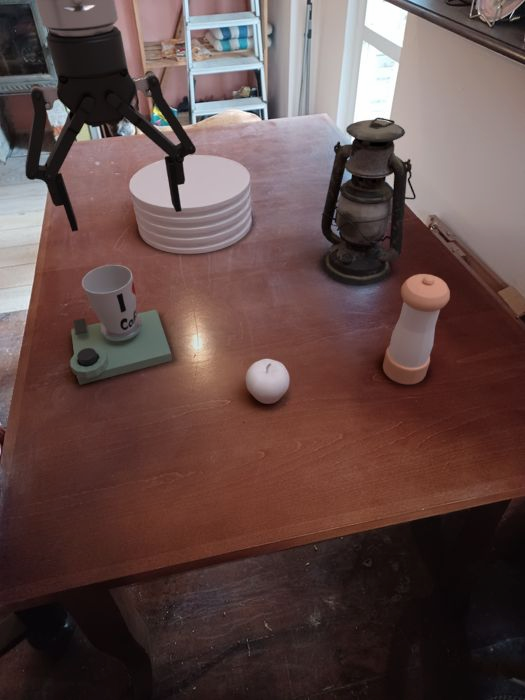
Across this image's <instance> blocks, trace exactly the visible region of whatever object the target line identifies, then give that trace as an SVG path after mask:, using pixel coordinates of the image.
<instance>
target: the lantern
mask: <svg viewBox="0 0 525 700" xmlns="http://www.w3.org/2000/svg"><path fill="white" fill-rule="evenodd" d="M345 131H346V133H347V134H348V136H350V137H352V138H354V139H353V140H352V142H351V143H349V144H343V145H341V141H337V142H336V144H335V145H334V146H333V152H334V154H335V155H334V159H333V164H332V169H331V174H330V179H329V183H328V188H327V193H326V197H325V203H324V207H323V211H322V213H321V222H320V223H321V224H320V228H321V232H322V235H323V236H324V238H325V239H326V240H327V241H328V242H329V243H331V244H332V245H331V246H330V247H329V249H328V253H327V254H326V256H325V258H324V260H323V262H322V265H323V270H324V272H325V274H327V276H329V278H331V279H333V280H334V281H337V282H338V283H341V284H345V285H348V286H355V287H356V286H357V287H358V286H359V287H363V286H371V285H374V284H375V285H376V284H378V283H380V282H382V281H384V280H385V279H386V278H387V277H388V276H389V273H390V271H391V270H390V264H389V263H390V262H394V261H396V260H397V259H398V258H399V257H400V255H401V253H402V245H403V233H404V222H405V221H404V220H405V219H404V218H405V206H406V200H416V198H417V197H416V193H415V190H414V188H413V186H412V185H413V184H412V183H411V178H412V176H413V175H412V171H411V170H412V166H413V164H411V158H408V159H407V161H404V160H403V159H401V158H400V157H399V156H397V155H396V154H395V146H396V145H395V143H394V141H397V140H399V139H401V138H403V137H404V136H405V134H406V131H405V129H404V128H403V127H402V126H401V125H398V124H397V123H396V122H395V121H394V120H392V119H389V118H384V117H376V118H374V119H364V120H360V121H356V122H353V123H351V124H349V125H347V127H346V129H345ZM345 171H346V172H347V173H349V174H350V175H351V177H350V179H348V180H346V181H345V182H344V183H343V180H344V175H345ZM408 174H409V176H408ZM391 175H393V185H392V186H391V185H390V184H389V183H388V182H387V181H386V179H387V177H390V176H391ZM407 183H408V185H409V188H410V190H411V193H412V195H413V197H409V196H406V194H407ZM333 222H334V223H335V224H333ZM332 226H333V227H336V232H338V234H336V233H335V232H334V231H333V229H332ZM389 226H390V234H389V235H386V232H387V230H388V229H389ZM386 239H389V249H387V250H386V249H385V248H384V247H383V246H382V245H381V244H379V243H380V242H384V241H385V240H386Z"/></svg>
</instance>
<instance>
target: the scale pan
mask: <svg viewBox="0 0 525 700" xmlns="http://www.w3.org/2000/svg"><path fill="white" fill-rule="evenodd" d="M137 314H138V313H136V321H135V325H134V327H133V328H132V329H131V330H130V331H128V332H125V333H121V334H114V333H111V332H109V331H108V330H107V329H106V327H105V326H104V325H103V324H101V327H100V328H101V332H102V335H103V336H104V337H105V338H106V339H108V340H111V341H123V340H127V339H130V338H132V337H134V336H135V335H137V334H138V333H139V332H140V330H141V328H142V322H141V318H140V317H139V316H138V315H137ZM86 326H87V322H86V318H85V317H82V318H79V319H74V320H73V327H74V329H75V334H76V335H78V334H82V333H86V332H87V327H86Z"/></svg>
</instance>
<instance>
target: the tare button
mask: <svg viewBox="0 0 525 700" xmlns="http://www.w3.org/2000/svg"><path fill="white" fill-rule="evenodd" d="M77 358H78V360H79V363H80V364H81V365H82V366H84V367H88V366H92V365H94V364H95V363H96V362H97V360H98V357H97V354H96V351H95V350H94V349H92V348H85V349H83V350H81V351H80V352H79V353H78V355H77Z"/></svg>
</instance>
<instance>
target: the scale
mask: <svg viewBox="0 0 525 700" xmlns="http://www.w3.org/2000/svg"><path fill="white" fill-rule="evenodd" d="M136 314H137V315H138V316H139V317H140V318H141V322H142V328H141V330H140V332H139V333H138V334H137V335H135V336H134V337H132V338H130V339H127V340H123V341H111V340H108V339H106V338H105V337H104V336H103V335H102V332H101V328H100V327H101V324H102V323H101V321H99V322H96V323H92V324H88V325H86V327H87V332H86V333H82V334H78V335H76V334H75V328H71V330H70V332H71V339H72V340H71V341H72V348H73V349H72V350H73V355H72V357H71V358H70V360H69V364H70V365H69V366H70V369H71V371H72V373H73V375H75V376H76V379H77V381H78V384H79V385H80V386H82V385H85V384H89V383H92V382H96V381H100V380H105V379H107V378H111V377H116V376H119V375H123V374H127V373H131V372H134V371H139V370H142V369H146V368H149V367H154V366H158V365H161V364H165V363H169V362H172V361H173V356H172V351H171V349H170V346H169V343H168V339H167V336H166V334H165V330H164V328H163V325H162V322H161V318H160V316H159V313H158V310H157V309H152V310H148V311H143V312H139V313H136ZM85 348H92V349H94V350H95V351H96V354H97V357H98V360H97V362H96V363H95V364H94V365H92V366H88V367H84V366H82V365H81V364H80V363H79V360H78V358H77V355H78V353H79V352H80V351H81V350H83V349H85Z"/></svg>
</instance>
